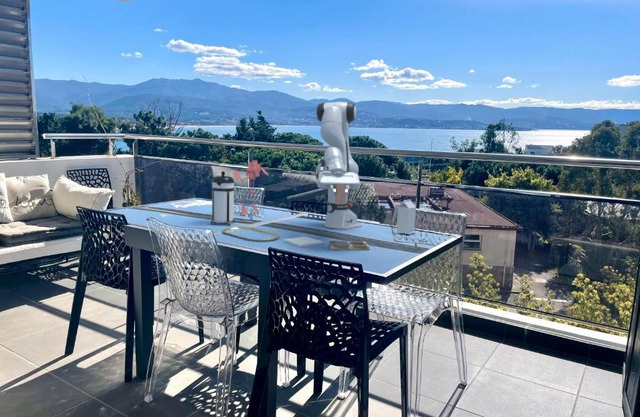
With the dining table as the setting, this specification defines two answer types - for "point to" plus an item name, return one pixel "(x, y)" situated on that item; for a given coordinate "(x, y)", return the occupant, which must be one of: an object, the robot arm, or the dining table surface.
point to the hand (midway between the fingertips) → (340, 193)
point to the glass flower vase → (252, 173)
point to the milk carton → (406, 217)
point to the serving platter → (252, 230)
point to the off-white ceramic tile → (302, 241)
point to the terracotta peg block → (340, 194)
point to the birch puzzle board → (347, 245)
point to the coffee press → (222, 199)
